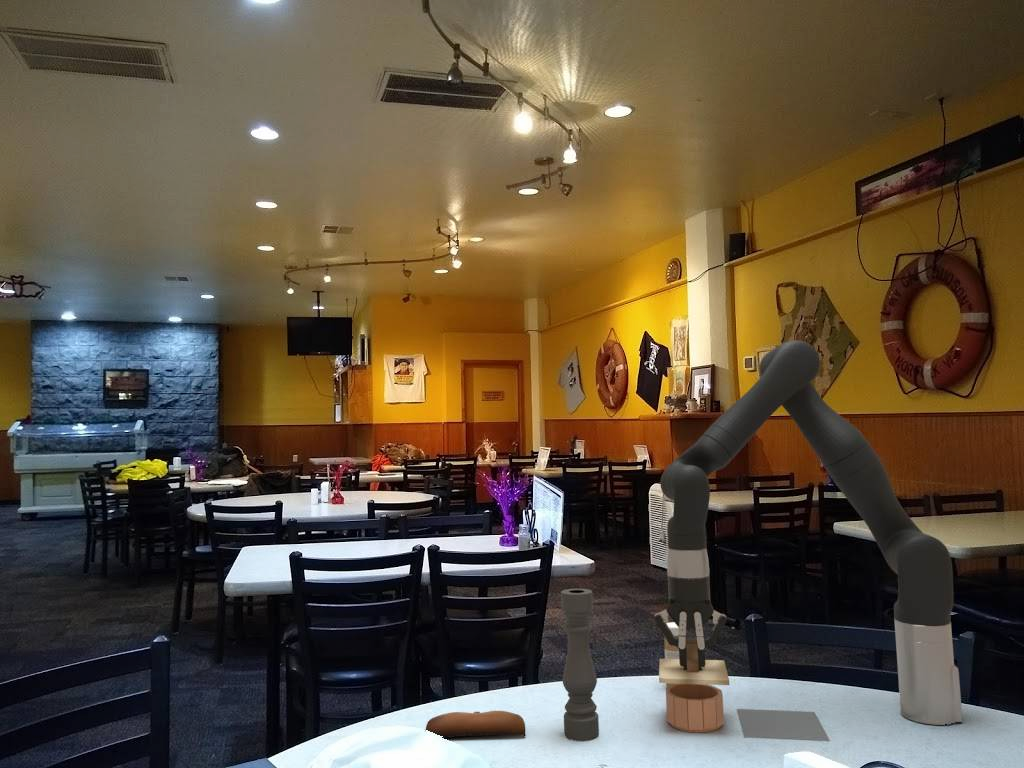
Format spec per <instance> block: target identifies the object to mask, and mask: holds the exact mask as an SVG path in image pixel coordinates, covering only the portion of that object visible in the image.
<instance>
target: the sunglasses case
mask: <svg viewBox="0 0 1024 768" xmlns="http://www.w3.org/2000/svg"><path fill="white" fill-rule="evenodd" d="M426 730H428V731H430V732H433V733H435V734H437V735H440V736H443V737H445V738H444V739H446V737H447V738H450V737H452V738H453V737H454V738H455V737H461V736H466V737H467V736H468V737H469V736H474V737H475V736H505V735H506V736H508V735H509V736H513V735H516V736H517V735H518V736H523V737H524V736H526V735H527V734H526V723H525V721H524V718H523V717H522V716H521V715H520V714H518V713H515V712H510V711H505V710H490V711H484V712H480V711H474V712H464V711H461V712H459V711H455V712H454V711H453V712H447V713H442V714H440V715H437V716H434V717H432V718H430V719H429V720H428V721H427V723H426V726H425V731H426Z"/></svg>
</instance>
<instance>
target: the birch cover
mask: <svg viewBox="0 0 1024 768" xmlns="http://www.w3.org/2000/svg"><path fill="white" fill-rule="evenodd" d="M685 645H686V655H687V670H684V666H680V662H679V659H665V658H659V663H658V664H659V667H658V668H659V669H658V682H659V684H666V683H676V684H705V685H712V686H730V678H729V674H728V671H727V666H726V663H725V660H722V659H721V660H720V659H719V660H718V659H705V667H702V670H699V668H698V643H697V637H696V638H694V637H692V638H691V637H690V638H689V637H686V639H685Z"/></svg>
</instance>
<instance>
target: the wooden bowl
mask: <svg viewBox="0 0 1024 768" xmlns="http://www.w3.org/2000/svg"><path fill="white" fill-rule="evenodd" d="M723 698H724V697H723V691H722V689H720V688H718V687H717V686H715V685H705V684H674V685H671V686H669V687H667V688H666V687H665V702H666V704H665V705H666V708H665V709H666V721H667V722H668V723H669V725H670V726H672V727H673V728H675V729H678V730H681V731H683V732H688V733H689V732H690V733H710V732H713V731H716V730H718V729H720V728H721V726H723V725H725V722H724V721H725V719H724V716H725V715H724V702H723V701H724V700H723Z"/></svg>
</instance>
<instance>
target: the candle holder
mask: <svg viewBox="0 0 1024 768" xmlns="http://www.w3.org/2000/svg"><path fill="white" fill-rule="evenodd" d="M593 596H594V595H593V590H591V589H588V588H569V589H568V588H567V589H563V590H561V591H560V599H561V601H560V603H561V605H560V606H561V607H560V608H561V609H560V610H561V611H562V612H563V613H562V614H563V616H564V618H565V620H566V622H565V623H564V624H563V626H562V627H563V630H564V632H565V633H566V634H567V636H566V637H567V655H566V659H565V664H564V669H563V670H564V671H563V675H562V685H563V687H564V690H565V691H566V693H567V696H568V700H567V702H566V704H565V705H564V710H565V713H564V714H563V734H565V735H564V737H565V736H566V737H565V738H567V739H568V738H569V739H568V740H571V739H572V741H575V740H576V741H575V742H586V741H587V742H588V741H593V740H595V739H597V738H599V735H600V728H599V727H600V724H599V713H597V708H598V707H597V704H596V703H595V701H594V700H593V699H592V698H593V696H594V691H595V688H596V687H597V684H598V677H597V674H596V670H595V666H594V662H593V659H592V654H591V651H590V633H591V631H592V630H593V625H592V624H591V623H590V622H589V620H590V617H591V615H592V611H593V609H594V603H593V602H594V600H593Z"/></svg>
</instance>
